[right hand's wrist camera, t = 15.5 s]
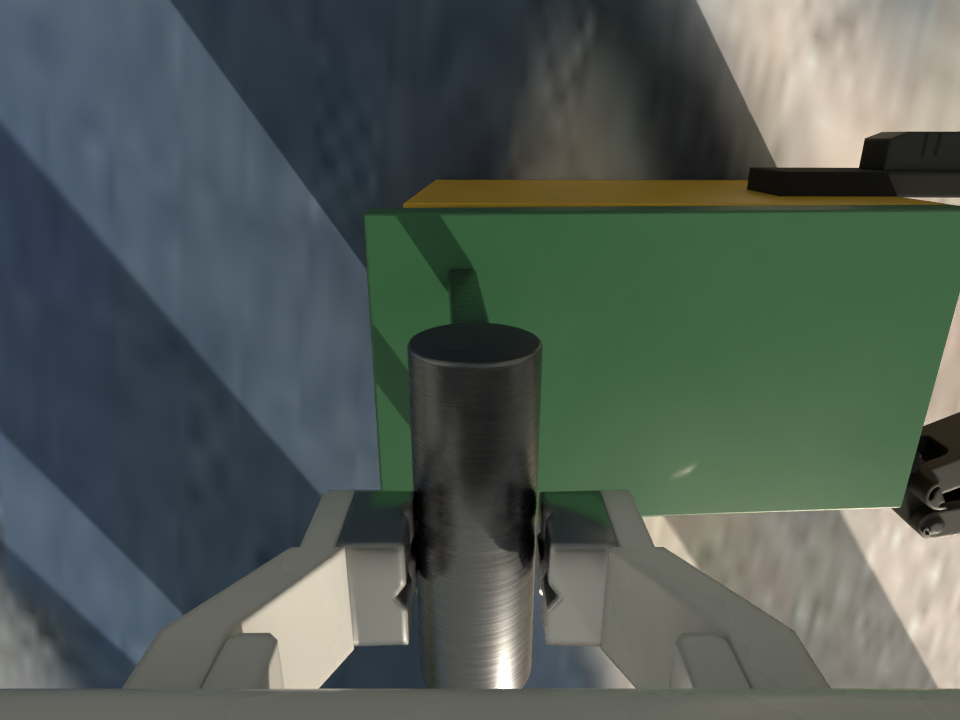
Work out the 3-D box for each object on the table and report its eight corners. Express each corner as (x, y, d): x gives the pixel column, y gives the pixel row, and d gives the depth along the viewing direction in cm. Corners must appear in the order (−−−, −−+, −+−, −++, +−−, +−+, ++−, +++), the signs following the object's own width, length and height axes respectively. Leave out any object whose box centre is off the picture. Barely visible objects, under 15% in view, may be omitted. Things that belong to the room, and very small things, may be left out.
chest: (439, 371, 30) (414, 481, 20) (435, 179, 27) (403, 202, 17) (752, 374, 29) (876, 487, 20) (784, 180, 26) (948, 203, 17)
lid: (386, 503, 19) (346, 770, 11) (368, 207, 16) (295, 277, 8) (876, 488, 20) (1168, 723, 12) (947, 203, 17) (1406, 263, 9)
